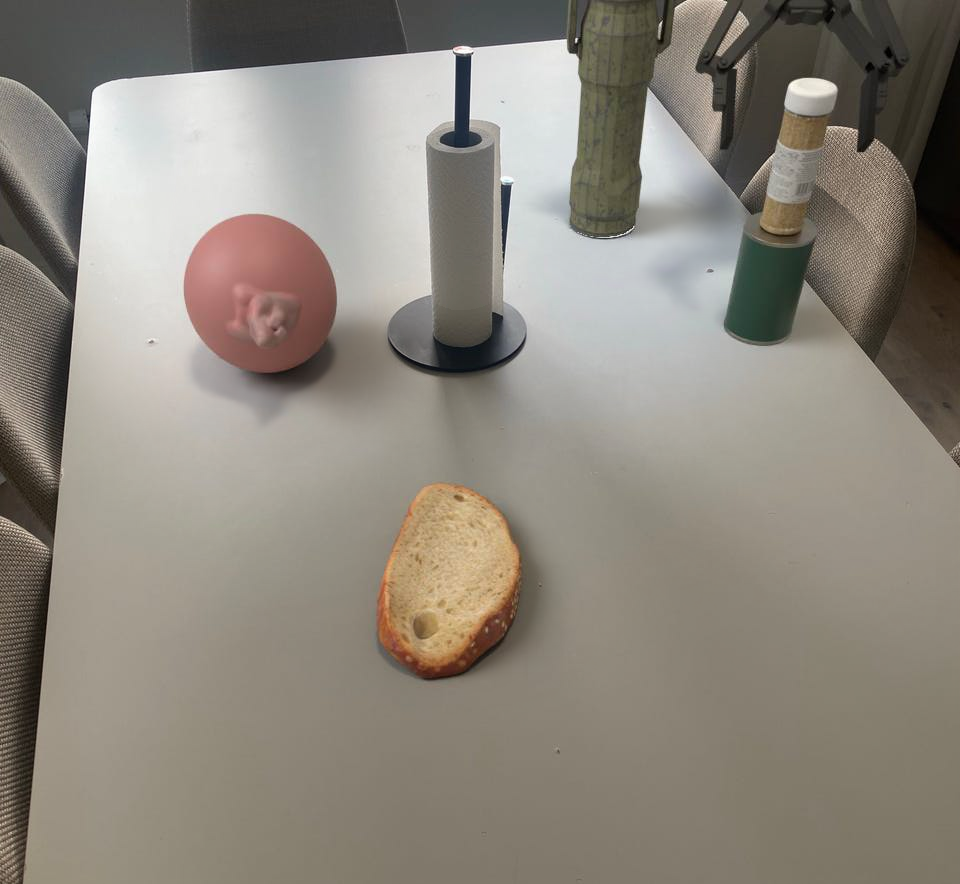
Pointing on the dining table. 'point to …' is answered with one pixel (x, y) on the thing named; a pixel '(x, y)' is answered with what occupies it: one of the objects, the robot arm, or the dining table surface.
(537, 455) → the dining table surface
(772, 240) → the tin can
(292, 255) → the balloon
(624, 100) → the thermos
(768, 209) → the sprinkles bottle
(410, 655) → the bread slice
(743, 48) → the robot arm
